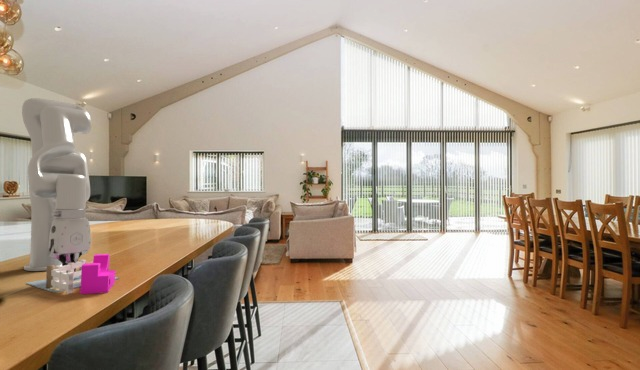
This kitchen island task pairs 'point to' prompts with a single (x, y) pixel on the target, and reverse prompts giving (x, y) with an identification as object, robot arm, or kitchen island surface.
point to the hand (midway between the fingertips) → (68, 275)
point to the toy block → (97, 275)
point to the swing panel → (72, 268)
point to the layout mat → (42, 285)
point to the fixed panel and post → (59, 279)
